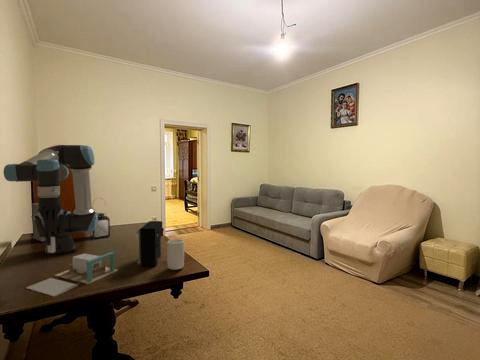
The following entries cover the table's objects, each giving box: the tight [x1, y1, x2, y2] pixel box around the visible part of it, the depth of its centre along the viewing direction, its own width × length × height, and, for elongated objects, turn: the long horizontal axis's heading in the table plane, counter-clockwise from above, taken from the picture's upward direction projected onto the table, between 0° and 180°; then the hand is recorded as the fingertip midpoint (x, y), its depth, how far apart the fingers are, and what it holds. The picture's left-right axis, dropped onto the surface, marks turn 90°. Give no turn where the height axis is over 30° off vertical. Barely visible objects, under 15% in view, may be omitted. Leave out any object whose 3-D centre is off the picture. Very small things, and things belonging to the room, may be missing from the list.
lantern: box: [89, 197, 111, 240], centre depth 190 cm, size 11×11×28 cm
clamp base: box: [54, 263, 119, 285], centre depth 125 cm, size 22×16×4 cm
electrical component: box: [136, 220, 165, 268], centre depth 141 cm, size 18×10×20 cm, turn 5°
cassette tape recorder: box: [31, 202, 45, 243], centre depth 180 cm, size 14×6×25 cm, turn 58°
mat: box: [25, 277, 79, 298], centre depth 110 cm, size 18×10×1 cm, turn 68°
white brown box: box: [72, 253, 103, 273], centre depth 125 cm, size 13×6×7 cm, turn 68°
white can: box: [166, 238, 185, 271], centre depth 130 cm, size 8×8×14 cm
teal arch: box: [87, 251, 116, 281], centre depth 121 cm, size 2×13×9 cm, turn 158°
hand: (51, 252), depth 109 cm, fingers closed
